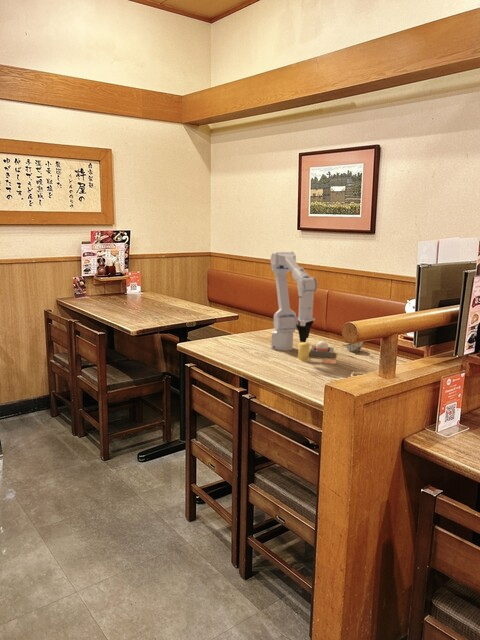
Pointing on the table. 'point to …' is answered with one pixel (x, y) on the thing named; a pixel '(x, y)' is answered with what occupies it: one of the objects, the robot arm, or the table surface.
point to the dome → (322, 346)
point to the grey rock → (354, 347)
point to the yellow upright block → (303, 351)
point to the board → (321, 361)
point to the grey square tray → (321, 352)
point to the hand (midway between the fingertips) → (304, 339)
